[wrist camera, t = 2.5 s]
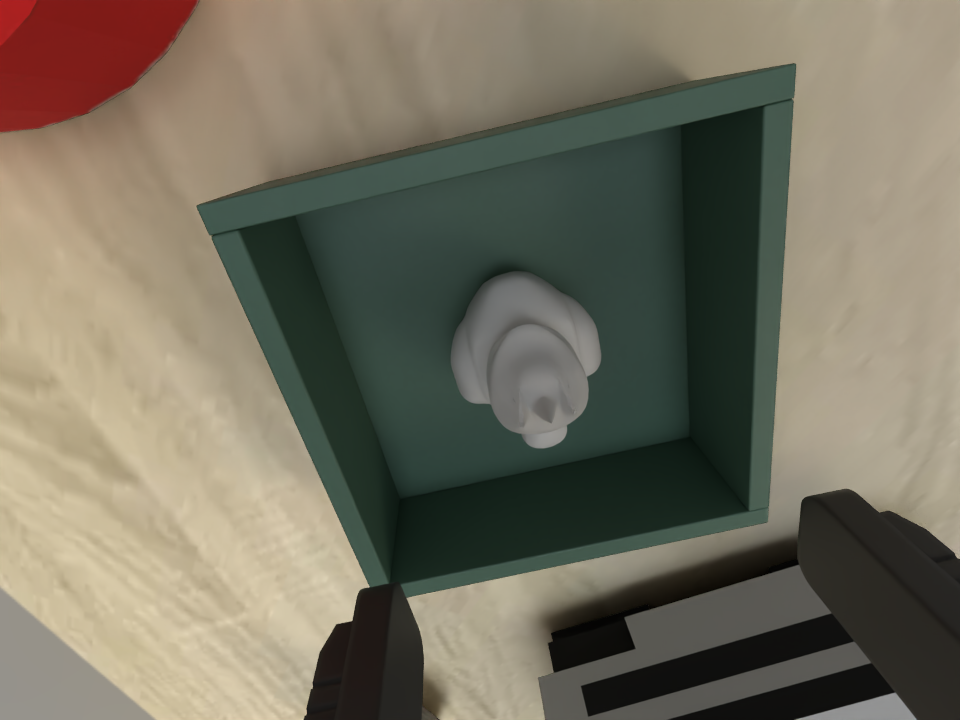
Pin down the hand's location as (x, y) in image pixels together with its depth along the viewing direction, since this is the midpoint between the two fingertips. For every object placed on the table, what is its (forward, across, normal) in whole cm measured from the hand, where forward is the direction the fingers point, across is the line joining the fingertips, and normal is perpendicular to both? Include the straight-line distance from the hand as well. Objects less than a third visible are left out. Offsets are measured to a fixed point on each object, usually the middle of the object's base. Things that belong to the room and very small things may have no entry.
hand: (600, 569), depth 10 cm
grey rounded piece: (+12, 0, 0) cm, 12 cm away
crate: (+12, 0, 0) cm, 12 cm away
